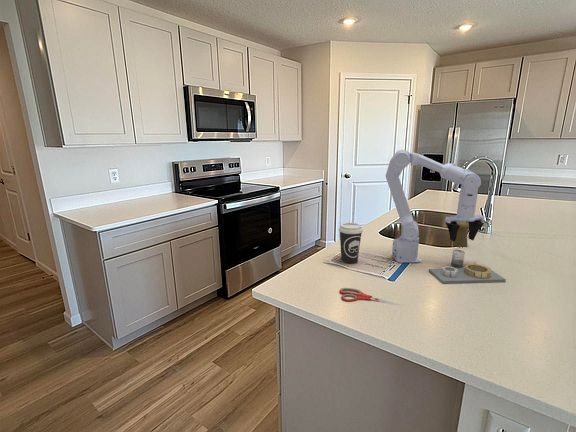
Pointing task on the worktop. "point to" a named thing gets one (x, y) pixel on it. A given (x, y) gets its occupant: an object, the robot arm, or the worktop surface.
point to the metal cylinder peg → (457, 258)
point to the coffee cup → (350, 242)
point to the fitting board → (465, 277)
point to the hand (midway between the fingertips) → (461, 239)
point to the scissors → (359, 296)
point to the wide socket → (484, 270)
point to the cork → (461, 235)
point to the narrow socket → (449, 271)
